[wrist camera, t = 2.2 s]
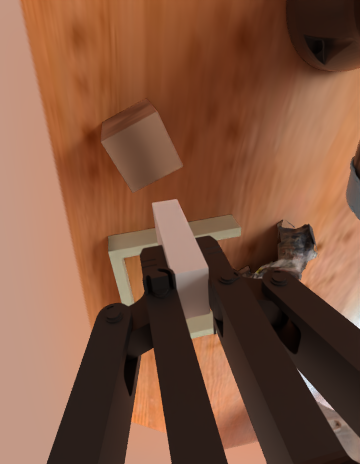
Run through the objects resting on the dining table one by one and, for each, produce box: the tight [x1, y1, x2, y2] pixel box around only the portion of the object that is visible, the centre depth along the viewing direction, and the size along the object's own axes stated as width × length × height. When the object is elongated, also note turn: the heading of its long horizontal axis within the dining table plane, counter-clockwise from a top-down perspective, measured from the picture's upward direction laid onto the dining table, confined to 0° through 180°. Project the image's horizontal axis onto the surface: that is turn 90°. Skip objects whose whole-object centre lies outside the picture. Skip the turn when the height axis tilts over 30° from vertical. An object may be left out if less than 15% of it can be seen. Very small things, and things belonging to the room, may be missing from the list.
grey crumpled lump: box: [238, 220, 318, 280], centre depth 49 cm, size 12×11×15 cm
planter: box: [316, 401, 360, 463], centre depth 72 cm, size 25×24×22 cm
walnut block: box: [101, 98, 183, 193], centre depth 33 cm, size 6×6×9 cm
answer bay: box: [108, 214, 241, 339], centre depth 49 cm, size 19×22×4 cm
